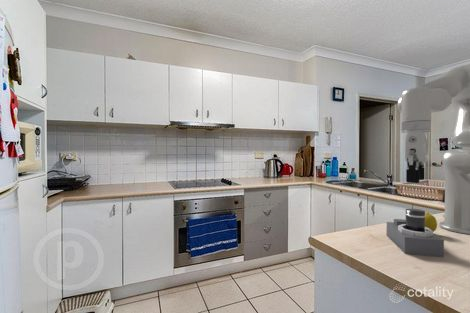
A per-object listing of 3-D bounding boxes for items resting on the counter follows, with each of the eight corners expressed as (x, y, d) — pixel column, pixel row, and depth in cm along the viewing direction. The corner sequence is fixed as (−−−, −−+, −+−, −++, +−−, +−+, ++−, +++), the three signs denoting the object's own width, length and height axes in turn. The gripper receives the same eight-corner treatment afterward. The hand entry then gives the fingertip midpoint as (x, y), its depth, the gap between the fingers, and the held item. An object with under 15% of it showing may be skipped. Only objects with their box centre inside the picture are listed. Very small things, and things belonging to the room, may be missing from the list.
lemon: (414, 231, 93) (415, 210, 92) (431, 231, 91) (431, 211, 91) (423, 236, 87) (423, 214, 87) (440, 237, 86) (440, 215, 86)
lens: (403, 232, 77) (404, 210, 77) (407, 228, 81) (407, 207, 81) (423, 236, 74) (423, 213, 74) (426, 231, 77) (426, 210, 77)
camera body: (386, 235, 88) (386, 217, 88) (418, 237, 86) (418, 219, 86) (404, 253, 73) (404, 232, 73) (443, 256, 70) (444, 235, 70)
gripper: (426, 125, 68) (426, 185, 68) (434, 127, 80) (434, 178, 80) (395, 127, 73) (395, 183, 74) (407, 129, 85) (407, 177, 86)
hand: (415, 180), depth 77 cm, fingers open, 9 cm apart
